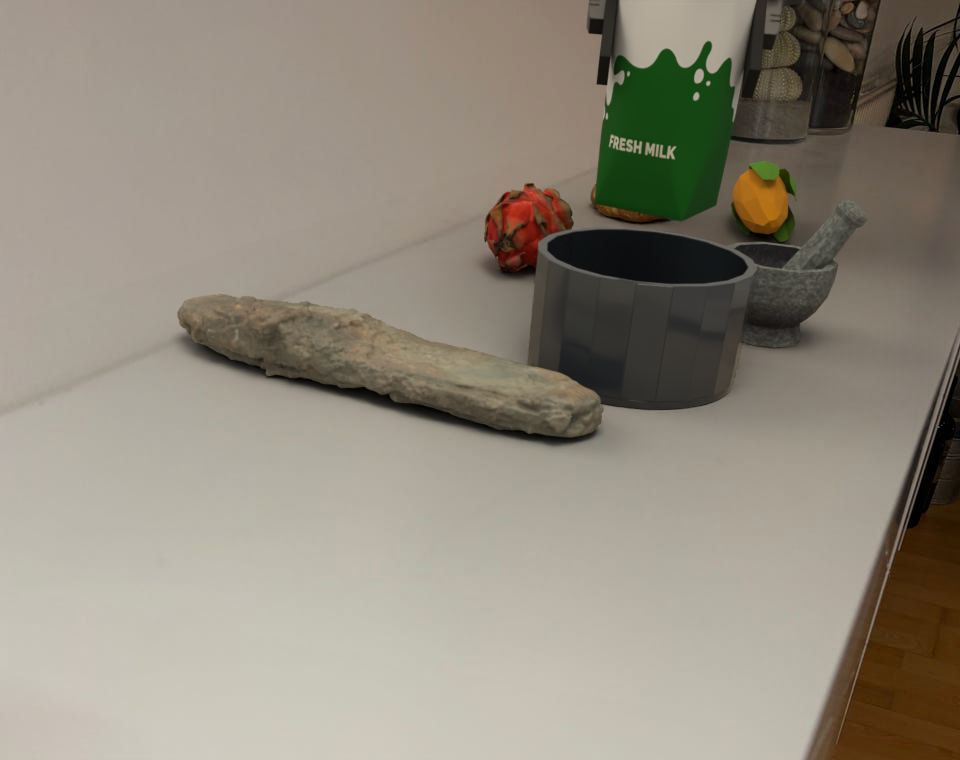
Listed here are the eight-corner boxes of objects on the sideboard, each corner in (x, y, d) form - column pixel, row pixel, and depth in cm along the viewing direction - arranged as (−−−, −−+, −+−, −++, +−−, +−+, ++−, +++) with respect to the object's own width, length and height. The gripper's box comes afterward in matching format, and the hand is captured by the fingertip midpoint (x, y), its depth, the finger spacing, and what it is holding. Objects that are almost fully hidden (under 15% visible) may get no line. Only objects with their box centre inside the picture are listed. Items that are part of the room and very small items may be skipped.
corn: (794, 152, 132) (815, 184, 116) (785, 217, 136) (803, 257, 120) (733, 151, 133) (744, 182, 116) (725, 216, 137) (735, 255, 121)
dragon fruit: (557, 271, 115) (505, 315, 107) (500, 212, 114) (443, 252, 106) (605, 214, 109) (554, 256, 101) (545, 151, 108) (489, 188, 100)
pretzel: (676, 229, 128) (681, 195, 126) (584, 219, 129) (588, 186, 127) (677, 207, 138) (682, 176, 136) (592, 198, 139) (595, 167, 137)
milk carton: (576, 204, 79) (615, -132, 68) (627, 186, 86) (670, -123, 74) (689, 227, 76) (749, -122, 64) (732, 206, 82) (794, -114, 71)
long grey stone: (563, 481, 72) (614, 438, 79) (578, 405, 69) (629, 368, 77) (143, 343, 82) (225, 318, 90) (141, 273, 79) (226, 253, 87)
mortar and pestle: (704, 344, 93) (731, 197, 86) (709, 313, 101) (735, 176, 94) (838, 362, 91) (876, 214, 85) (832, 329, 99) (867, 191, 92)
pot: (748, 358, 91) (771, 248, 86) (710, 425, 78) (735, 300, 73) (563, 324, 95) (574, 217, 90) (498, 382, 82) (507, 261, 77)
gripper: (845, -139, 80) (825, 129, 76) (551, -161, 82) (515, 100, 77) (878, -239, 73) (858, 51, 69) (554, -262, 74) (515, 21, 70)
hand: (676, 77), depth 73 cm, fingers closed on milk carton, 9 cm apart
